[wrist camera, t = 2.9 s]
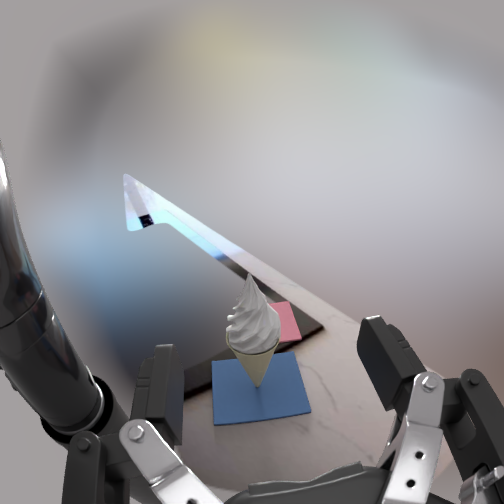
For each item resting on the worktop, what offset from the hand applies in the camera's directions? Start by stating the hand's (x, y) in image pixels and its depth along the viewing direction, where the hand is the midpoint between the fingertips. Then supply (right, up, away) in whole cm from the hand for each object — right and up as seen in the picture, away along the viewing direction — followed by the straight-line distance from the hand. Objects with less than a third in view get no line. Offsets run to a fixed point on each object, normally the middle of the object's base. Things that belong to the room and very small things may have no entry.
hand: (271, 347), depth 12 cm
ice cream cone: (0, -11, +19) cm, 22 cm away
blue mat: (0, -11, +19) cm, 22 cm away
